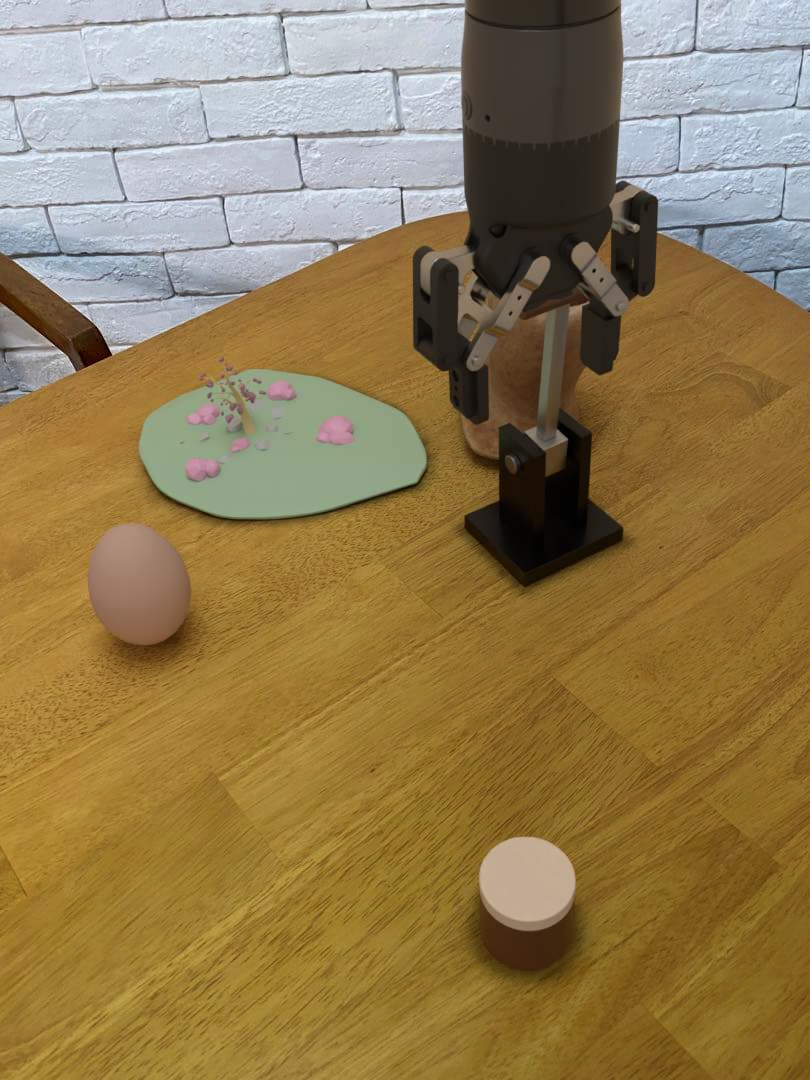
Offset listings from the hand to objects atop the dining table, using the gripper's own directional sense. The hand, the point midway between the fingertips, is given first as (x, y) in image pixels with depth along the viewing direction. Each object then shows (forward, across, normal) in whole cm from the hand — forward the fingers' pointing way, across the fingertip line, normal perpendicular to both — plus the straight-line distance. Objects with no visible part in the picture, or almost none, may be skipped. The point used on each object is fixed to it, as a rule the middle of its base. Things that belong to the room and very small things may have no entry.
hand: (536, 391), depth 64 cm
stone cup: (+21, +15, +22) cm, 34 cm away
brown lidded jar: (+21, -13, -17) cm, 30 cm away
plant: (+20, -4, +31) cm, 37 cm away
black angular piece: (+20, +7, +9) cm, 23 cm away
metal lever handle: (+6, +7, +7) cm, 12 cm away
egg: (+21, -22, +16) cm, 34 cm away
